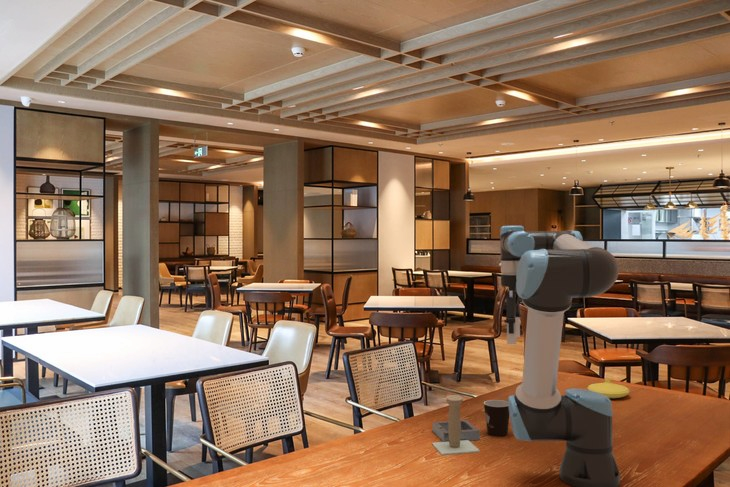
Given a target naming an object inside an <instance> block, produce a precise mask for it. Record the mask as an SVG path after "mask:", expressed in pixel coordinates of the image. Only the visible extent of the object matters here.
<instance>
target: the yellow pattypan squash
mask: <svg viewBox="0 0 730 487" xmlns="http://www.w3.org/2000/svg"><path fill="white" fill-rule="evenodd" d="M587 390H590V391H594V392H597V393H601V394H603V395H605V396H607V397H608V398H609V399H621V398H624V397H626V396H627V395H629V393H630V389H629V388H628V387H627V386H625V385H622V384H617V383H613V382H612V378H608V377H607V378H604V382H598V383H592V384H589V385H588V386H587Z"/></svg>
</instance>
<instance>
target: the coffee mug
mask: <svg viewBox="0 0 730 487" xmlns="http://www.w3.org/2000/svg"><path fill="white" fill-rule="evenodd" d="M483 407H484V413H485V416H484V417H485V423H486V431H487V432H486V433H487V435H488V436H491V437H496V438H499V437H500V438H501V437H502V438H503V437H505V436H508V432H509V431H508V430H509V424H510V423H509V422H510V414H509V407H508V400H507V401H506V400H502V399H501V400H499V399H489V400H485V401H483Z"/></svg>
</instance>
